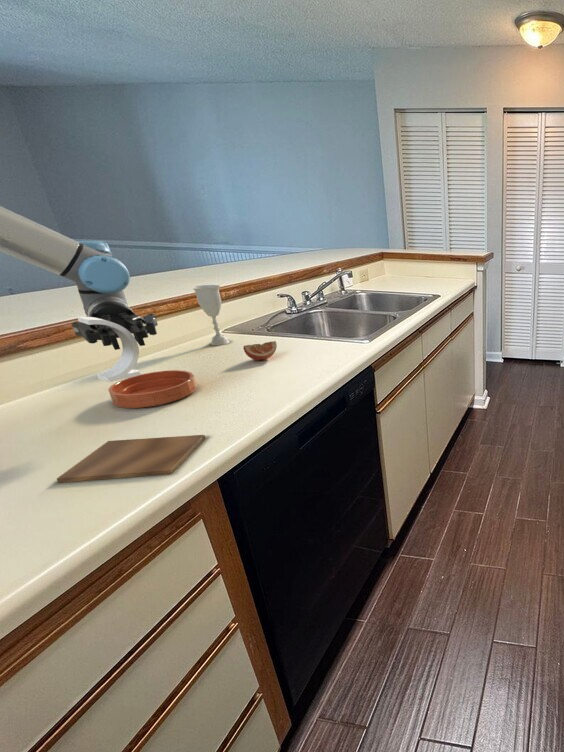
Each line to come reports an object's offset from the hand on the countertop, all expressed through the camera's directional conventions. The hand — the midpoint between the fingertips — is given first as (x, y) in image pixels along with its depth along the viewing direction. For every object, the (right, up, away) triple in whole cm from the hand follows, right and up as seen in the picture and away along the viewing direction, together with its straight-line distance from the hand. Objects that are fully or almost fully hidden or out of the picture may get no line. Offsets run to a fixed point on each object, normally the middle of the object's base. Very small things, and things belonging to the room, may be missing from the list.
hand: (128, 340), depth 78 cm
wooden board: (+6, -21, -4) cm, 22 cm away
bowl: (-11, -11, +20) cm, 25 cm away
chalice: (-23, +5, +58) cm, 63 cm away
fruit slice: (-1, -1, +44) cm, 44 cm away
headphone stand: (-6, -7, +5) cm, 10 cm away
